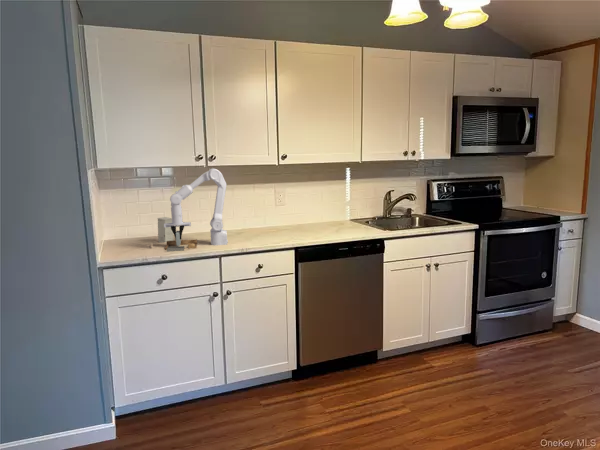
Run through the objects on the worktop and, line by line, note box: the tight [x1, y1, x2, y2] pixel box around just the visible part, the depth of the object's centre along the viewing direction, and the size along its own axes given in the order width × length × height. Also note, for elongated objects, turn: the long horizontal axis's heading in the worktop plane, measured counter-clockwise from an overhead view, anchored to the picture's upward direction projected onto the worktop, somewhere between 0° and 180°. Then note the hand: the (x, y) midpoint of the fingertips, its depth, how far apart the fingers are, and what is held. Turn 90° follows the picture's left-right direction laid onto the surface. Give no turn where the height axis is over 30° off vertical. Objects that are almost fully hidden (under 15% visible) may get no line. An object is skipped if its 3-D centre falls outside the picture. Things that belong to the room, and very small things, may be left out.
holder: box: [166, 245, 186, 253], centre depth 246 cm, size 9×4×3 cm, turn 101°
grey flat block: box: [175, 230, 182, 247], centre depth 253 cm, size 2×8×7 cm, turn 11°
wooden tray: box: [164, 239, 198, 251], centre depth 255 cm, size 17×12×4 cm
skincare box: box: [157, 216, 174, 243], centre depth 271 cm, size 8×6×15 cm
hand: (178, 239), depth 254 cm, fingers closed on grey flat block, 2 cm apart
